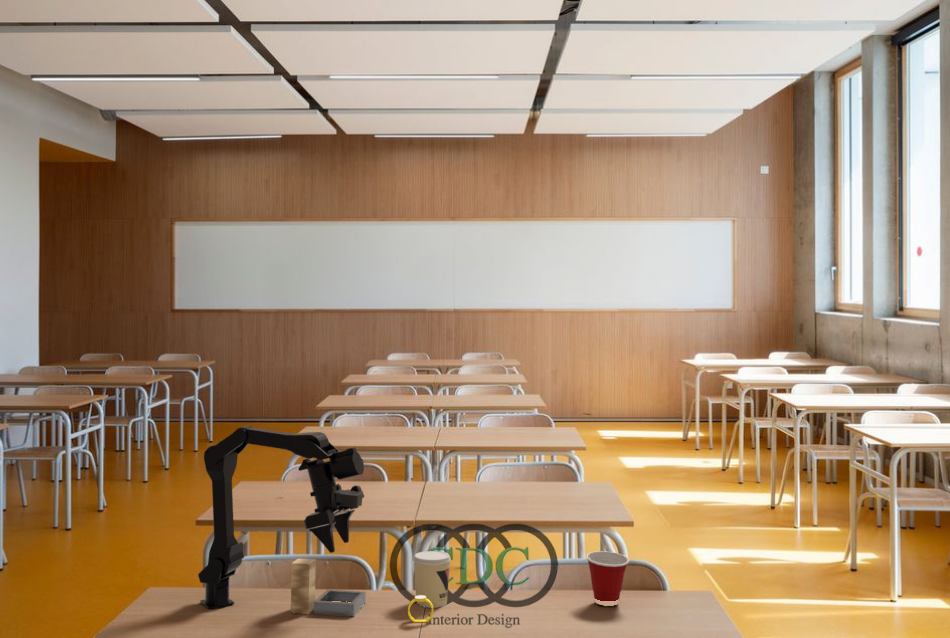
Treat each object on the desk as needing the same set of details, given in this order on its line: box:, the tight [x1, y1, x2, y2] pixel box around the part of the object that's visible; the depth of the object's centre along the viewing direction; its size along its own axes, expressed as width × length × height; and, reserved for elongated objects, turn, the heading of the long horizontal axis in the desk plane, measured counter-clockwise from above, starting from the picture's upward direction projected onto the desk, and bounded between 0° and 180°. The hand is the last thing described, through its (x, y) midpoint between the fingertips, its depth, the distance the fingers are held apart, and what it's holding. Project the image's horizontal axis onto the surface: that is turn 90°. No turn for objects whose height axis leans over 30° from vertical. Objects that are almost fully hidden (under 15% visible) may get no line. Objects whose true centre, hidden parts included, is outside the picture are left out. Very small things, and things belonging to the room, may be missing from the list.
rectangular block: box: [290, 558, 317, 615], centre depth 213 cm, size 4×4×12 cm
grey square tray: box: [313, 589, 367, 617], centre depth 214 cm, size 10×10×3 cm
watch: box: [407, 595, 434, 624], centre depth 206 cm, size 6×3×6 cm, turn 92°
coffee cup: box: [413, 550, 451, 609], centre depth 220 cm, size 9×9×12 cm
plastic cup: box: [585, 550, 630, 601], centre depth 221 cm, size 11×11×12 cm
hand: (339, 547), depth 210 cm, fingers open, 9 cm apart
